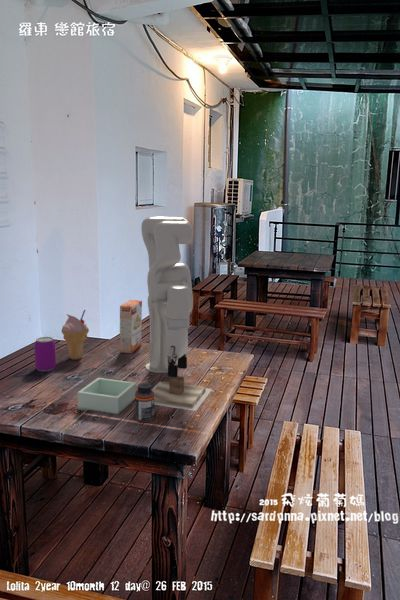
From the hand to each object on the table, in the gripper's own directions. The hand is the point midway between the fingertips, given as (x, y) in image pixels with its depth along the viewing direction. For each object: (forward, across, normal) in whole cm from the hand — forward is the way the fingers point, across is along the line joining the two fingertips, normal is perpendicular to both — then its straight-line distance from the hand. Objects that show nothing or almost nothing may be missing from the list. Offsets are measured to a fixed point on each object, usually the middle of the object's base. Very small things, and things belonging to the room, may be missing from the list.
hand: (177, 372), depth 178 cm
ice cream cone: (+8, -26, -54) cm, 60 cm away
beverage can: (+8, -10, -58) cm, 59 cm away
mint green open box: (+9, +13, -20) cm, 25 cm away
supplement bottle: (+10, +20, -4) cm, 22 cm away
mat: (+9, -1, -1) cm, 9 cm away
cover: (+9, -1, -1) cm, 9 cm away
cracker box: (+7, -46, -38) cm, 60 cm away
